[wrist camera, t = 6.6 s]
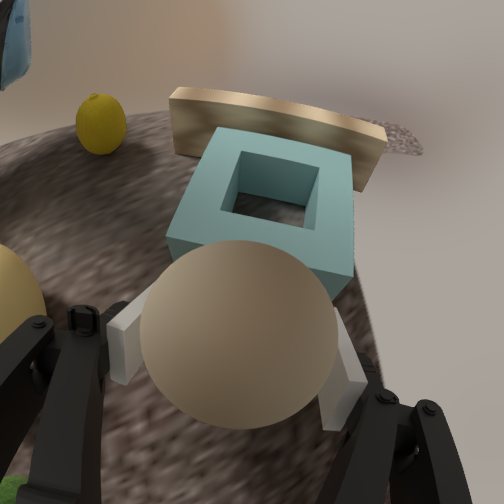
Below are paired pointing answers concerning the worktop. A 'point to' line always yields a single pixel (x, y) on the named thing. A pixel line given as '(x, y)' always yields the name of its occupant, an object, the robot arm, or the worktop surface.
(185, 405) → the dowel
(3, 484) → the avocado
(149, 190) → the worktop surface
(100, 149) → the lemon
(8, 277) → the sculpture
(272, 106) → the oak wall
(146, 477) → the worktop surface
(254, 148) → the socket block
